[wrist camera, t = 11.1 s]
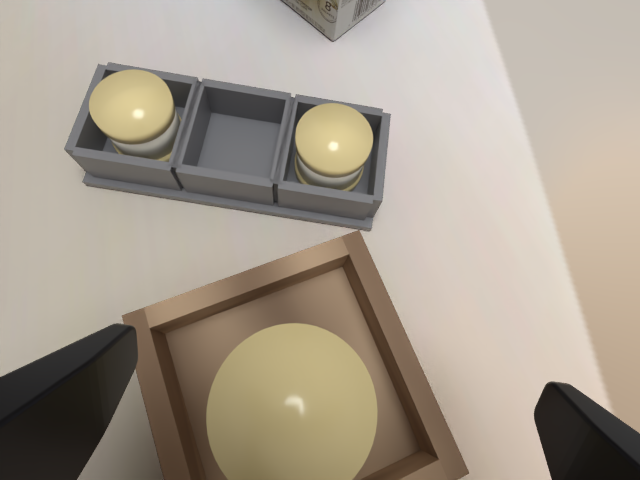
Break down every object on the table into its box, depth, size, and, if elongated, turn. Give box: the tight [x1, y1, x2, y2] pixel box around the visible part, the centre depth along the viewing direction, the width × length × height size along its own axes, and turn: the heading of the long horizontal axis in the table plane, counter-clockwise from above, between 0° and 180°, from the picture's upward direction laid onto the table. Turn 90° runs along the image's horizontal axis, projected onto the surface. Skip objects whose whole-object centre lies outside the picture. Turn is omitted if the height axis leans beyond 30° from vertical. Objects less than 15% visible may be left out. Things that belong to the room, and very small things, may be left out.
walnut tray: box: [122, 230, 469, 480], centre depth 20 cm, size 12×12×4 cm
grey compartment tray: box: [64, 62, 391, 231], centre depth 24 cm, size 17×7×3 cm, turn 82°
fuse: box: [89, 69, 181, 162], centre depth 23 cm, size 4×4×4 cm
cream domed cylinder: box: [295, 103, 373, 192], centre depth 23 cm, size 4×4×4 cm
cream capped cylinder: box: [206, 323, 377, 480], centre depth 15 cm, size 4×4×11 cm
